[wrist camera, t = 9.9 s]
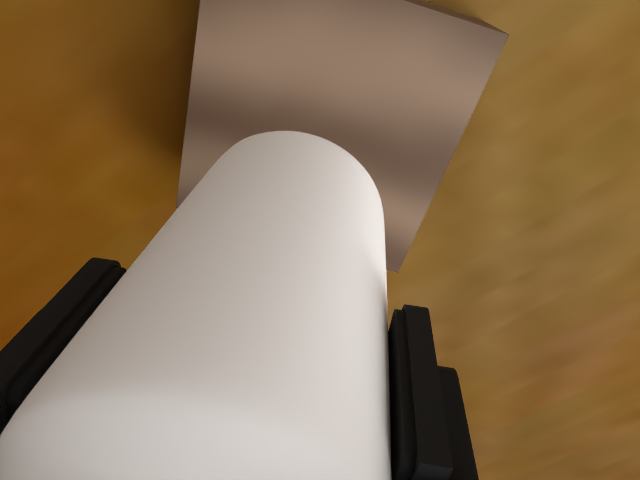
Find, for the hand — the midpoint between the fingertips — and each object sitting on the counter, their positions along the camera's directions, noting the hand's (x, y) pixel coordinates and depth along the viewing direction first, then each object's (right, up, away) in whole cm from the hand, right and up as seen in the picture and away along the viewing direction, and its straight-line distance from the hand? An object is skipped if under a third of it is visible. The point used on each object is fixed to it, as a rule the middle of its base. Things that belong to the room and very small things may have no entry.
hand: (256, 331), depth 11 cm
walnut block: (+2, +11, +18) cm, 21 cm away
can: (+1, +3, +5) cm, 6 cm away
